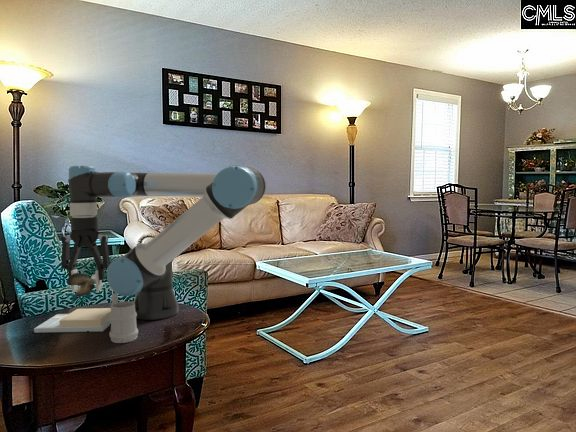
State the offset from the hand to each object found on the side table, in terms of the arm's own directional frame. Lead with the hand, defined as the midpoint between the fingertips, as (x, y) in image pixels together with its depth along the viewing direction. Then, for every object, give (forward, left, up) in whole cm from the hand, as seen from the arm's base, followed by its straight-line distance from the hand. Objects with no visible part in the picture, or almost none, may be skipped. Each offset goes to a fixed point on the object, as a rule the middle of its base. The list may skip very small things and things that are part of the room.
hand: (87, 290), depth 136 cm
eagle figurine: (0, +2, 0) cm, 2 cm away
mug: (-14, +12, -11) cm, 21 cm away
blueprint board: (+3, 0, -11) cm, 11 cm away
